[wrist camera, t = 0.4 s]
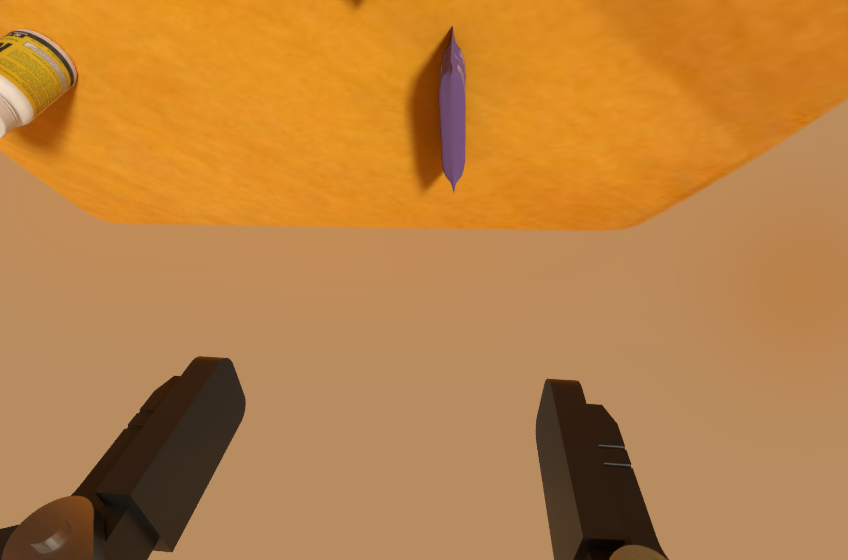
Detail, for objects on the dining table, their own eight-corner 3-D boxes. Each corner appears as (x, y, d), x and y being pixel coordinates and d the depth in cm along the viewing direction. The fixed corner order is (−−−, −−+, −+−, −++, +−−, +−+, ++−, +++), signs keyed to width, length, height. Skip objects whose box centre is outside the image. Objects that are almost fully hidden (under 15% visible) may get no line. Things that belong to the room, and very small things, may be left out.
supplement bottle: (27, 15, 32) (-59, 67, 27) (90, 70, 35) (24, 127, 30) (-2, 46, 34) (-87, 100, 29) (60, 96, 37) (-6, 153, 32)
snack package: (439, 25, 31) (435, 57, 28) (465, 24, 31) (465, 55, 27) (444, 159, 40) (442, 194, 37) (465, 159, 40) (465, 194, 36)
